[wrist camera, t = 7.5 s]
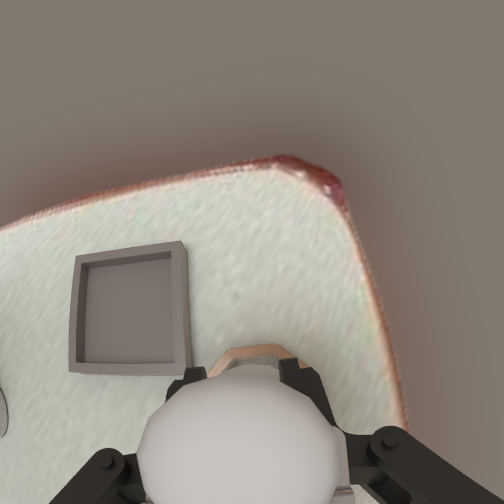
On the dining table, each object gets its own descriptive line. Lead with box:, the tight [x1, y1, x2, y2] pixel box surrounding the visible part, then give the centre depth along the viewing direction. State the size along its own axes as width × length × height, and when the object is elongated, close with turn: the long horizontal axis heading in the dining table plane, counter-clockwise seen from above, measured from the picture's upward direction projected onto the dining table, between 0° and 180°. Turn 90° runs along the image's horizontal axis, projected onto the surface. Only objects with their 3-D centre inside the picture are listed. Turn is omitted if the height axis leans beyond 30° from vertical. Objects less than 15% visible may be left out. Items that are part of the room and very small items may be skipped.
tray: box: [69, 241, 193, 376], centre depth 27 cm, size 13×13×2 cm
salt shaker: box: [136, 364, 341, 504], centre depth 10 cm, size 6×6×13 cm
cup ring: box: [207, 344, 309, 378], centre depth 23 cm, size 10×10×4 cm
